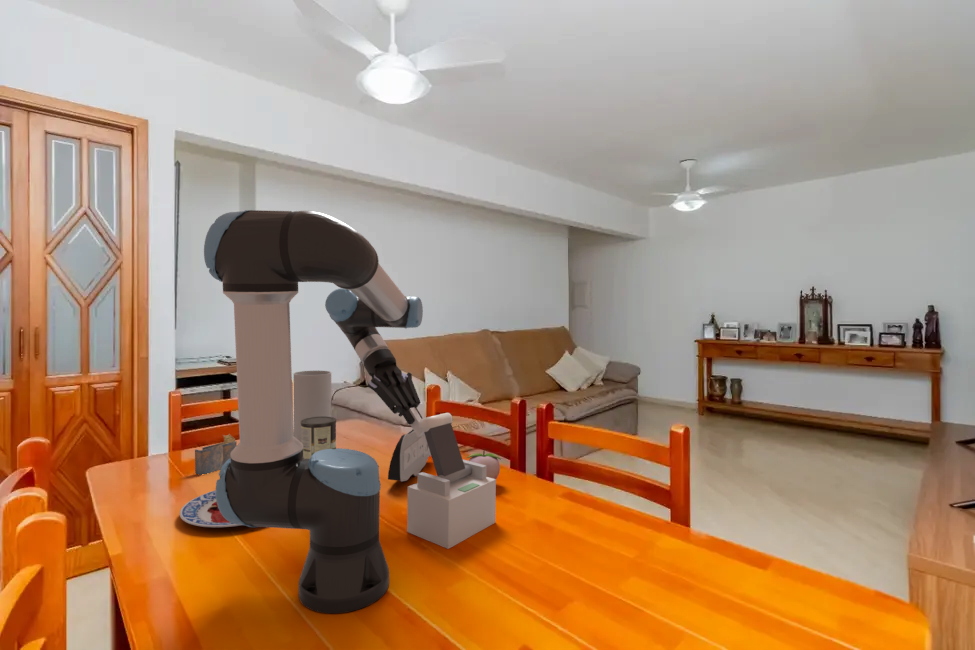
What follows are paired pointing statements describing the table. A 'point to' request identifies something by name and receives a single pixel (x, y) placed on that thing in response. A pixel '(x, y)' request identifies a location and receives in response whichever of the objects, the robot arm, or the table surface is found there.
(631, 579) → the table surface
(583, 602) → the table surface
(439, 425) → the lever
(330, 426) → the coffee can
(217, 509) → the ceramic plate
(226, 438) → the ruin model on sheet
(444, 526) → the box
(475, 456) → the decorative fruit
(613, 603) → the table surface
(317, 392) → the cylinder vase
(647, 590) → the table surface
